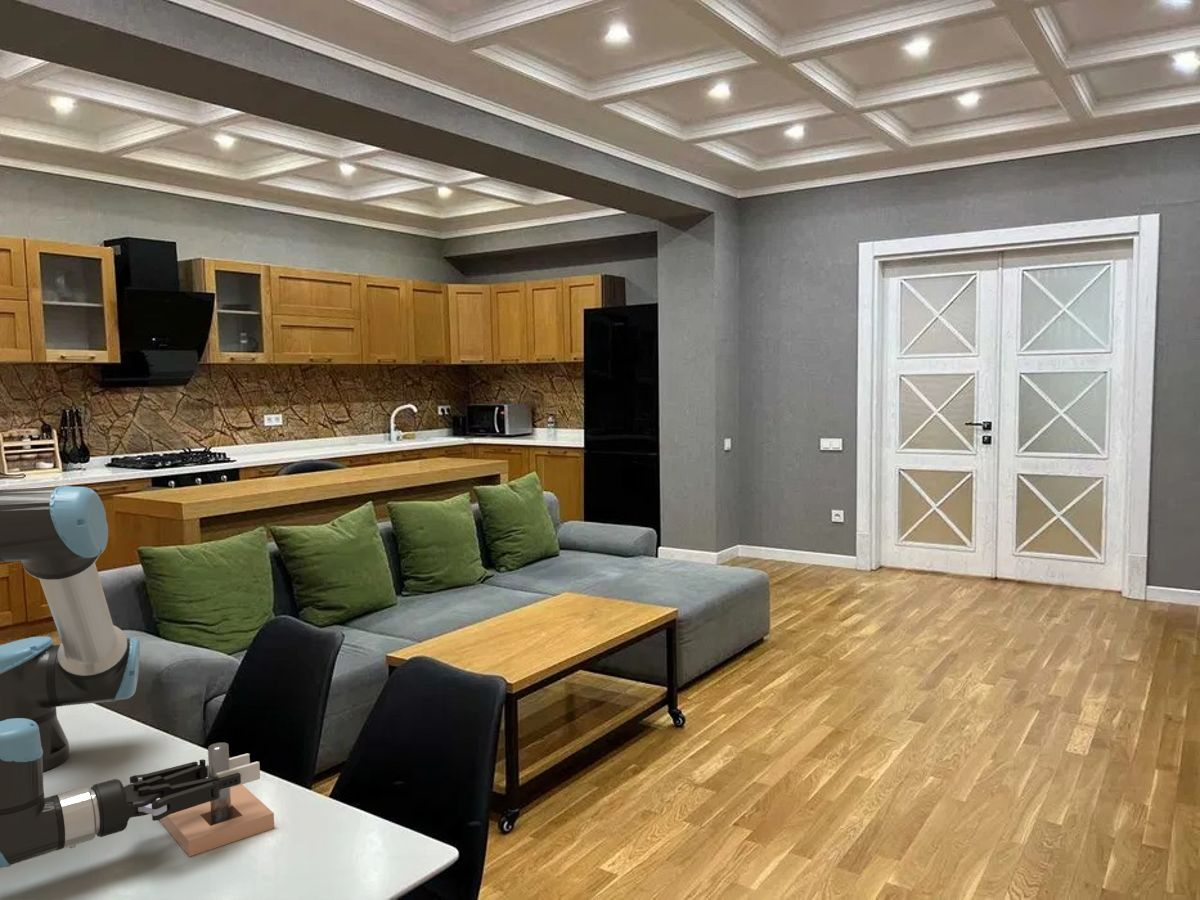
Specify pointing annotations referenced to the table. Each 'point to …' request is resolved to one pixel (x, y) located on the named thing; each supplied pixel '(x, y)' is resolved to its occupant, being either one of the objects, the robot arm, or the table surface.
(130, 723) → the table surface
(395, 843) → the table surface
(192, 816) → the terracotta block
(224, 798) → the steel dowel
